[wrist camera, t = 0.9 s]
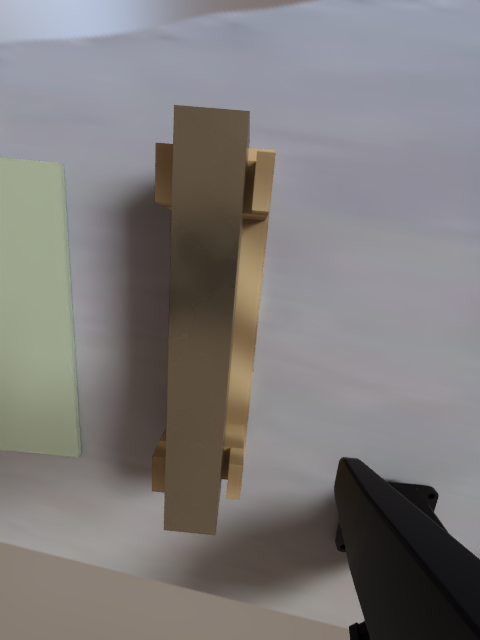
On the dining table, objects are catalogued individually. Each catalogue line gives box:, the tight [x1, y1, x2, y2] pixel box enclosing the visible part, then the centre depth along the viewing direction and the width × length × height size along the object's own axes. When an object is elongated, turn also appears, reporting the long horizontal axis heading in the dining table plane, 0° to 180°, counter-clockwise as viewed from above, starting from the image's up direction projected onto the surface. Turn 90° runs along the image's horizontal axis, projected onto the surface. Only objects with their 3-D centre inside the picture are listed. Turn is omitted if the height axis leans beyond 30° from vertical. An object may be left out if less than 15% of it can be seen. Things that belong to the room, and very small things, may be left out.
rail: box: [164, 105, 250, 535], centre depth 14 cm, size 20×3×3 cm, turn 175°
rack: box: [152, 143, 276, 500], centre depth 16 cm, size 21×6×4 cm, turn 175°
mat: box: [0, 158, 81, 458], centre depth 19 cm, size 20×7×1 cm, turn 175°
